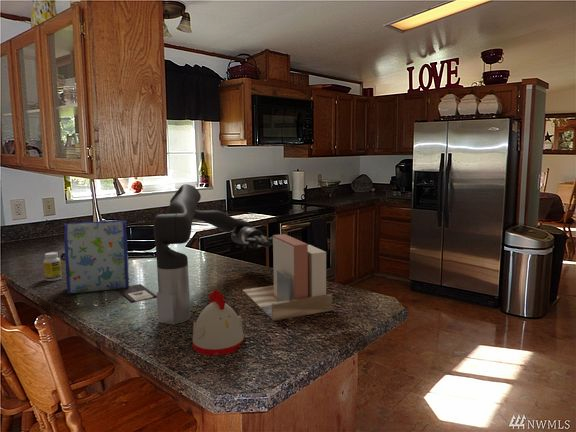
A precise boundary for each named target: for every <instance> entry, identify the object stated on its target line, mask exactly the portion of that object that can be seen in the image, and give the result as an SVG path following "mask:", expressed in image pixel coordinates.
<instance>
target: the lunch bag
mask: <svg viewBox="0 0 576 432" xmlns="http://www.w3.org/2000/svg"><path fill="white" fill-rule="evenodd" d="M63 225H64V227H63V228H64V260H65V261H64V262H65V278H66V279H65V280H66V289H67V290H66V291H67V294H77V293H78V294H79V293H80V294H81V293H90V292H99V291H100V292H101V291H109V290H110V291H111V290H117V289H121V288H129V286H130V285H129V283H130V282H129V280H130V276H129V275H130V274H129V264H130V263H129V251H128V234H127V221H126V220H118V219H114V220H101V221H99V220H98V221H86V222H85V221H84V222H72V223H71V222H70V223H64V224H63Z"/></svg>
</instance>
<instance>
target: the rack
mask: <svg viewBox="0 0 576 432" xmlns="http://www.w3.org/2000/svg"><path fill="white" fill-rule="evenodd" d="M242 291H243V292H244V293H245V294H246V295H247V296H248V297H249V298H250V299H251V300H252V301H253V302H254V303H255V305H256V304H257V306H259V308H261V309H262V307H263V306H269V305H272V318H271V319H272V320H273V321H280V320H284V319H291V318H296V317H302V316H308V315H312V314H313V315H314V314H319V313H324V312H325V313H326V312H331V311H333V295H332V294H331V293H328V294H327V293H326V295H320V296H313V297H307V298H301V299H294V300H288V301H282V302H277V298H275V297H274V284H273V285H268V286H267V285H266V286H261V287H252V288H245V289H242Z"/></svg>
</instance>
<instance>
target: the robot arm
mask: <svg viewBox="0 0 576 432" xmlns="http://www.w3.org/2000/svg"><path fill="white" fill-rule="evenodd" d="M201 197H202V195H201V193H200V191H199V190H198V189H197V188H196V187H195V186H193V185H191V184H187V183H186V184H182V185H181V186H180V187H179V188H178V189H177V191H176V192H175V193H174V195H173V196H172V197H171V199H170V200H169V205H168V207H167V211H166V213H162V214H161V213H160V214H157V215H155V217H154V219H153V235H154V245H155V254H156V256H155V258H156V273H157V287H158V289H157V290H158V292H156V296H157V297H156V306H157V308H156V310H157V321H158V322H157V323H160V324H166V325H172V326H175V325H177V324H181V323H185V322H187V321H189V320H190V319H191V300H190V297H191V296H190V282H189V261H188V259H189V258H188V256H187V255H186V254H185V253H183V252H179V251H176V250H174V249H172V248H171V247H169V245H181V244H185V243H187V242H188V241H189V240H190V238H191V234H192V224H193V221H194V219H195V220H197V221H201V222H203V223H206V224H209V225H210V226H213V227H215V228H217V229H219V230H221V231H222V232H224V233H231V234H230V239H231V240H232V241H233V242H234V243H235V244H237V245H239V244H240V245H244V246H247V247H250V248H252V249H260V248H261V247H263V248H265V249H267V248H270V247H271V246H273V235H272V236H270V237H268V236H265V234H264V232H262V231H261V230H259V229H256V228H254V227H253V226H252V223H250V222H249V221H248V220H244V219H239V218H238V219H237V218H234V217H232V216H230V215H228V214H227V213H225V212H223V211H221V210H214V209H211V210H200V209H197V205H198V203H199V202H200V201H201Z"/></svg>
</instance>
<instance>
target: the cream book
mask: <svg viewBox="0 0 576 432" xmlns="http://www.w3.org/2000/svg"><path fill="white" fill-rule="evenodd" d="M326 294H327V251H324V250H323V249H320V248H318V247H315V246H314V245H312V244H308V297H313V296H320V295H326Z"/></svg>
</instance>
